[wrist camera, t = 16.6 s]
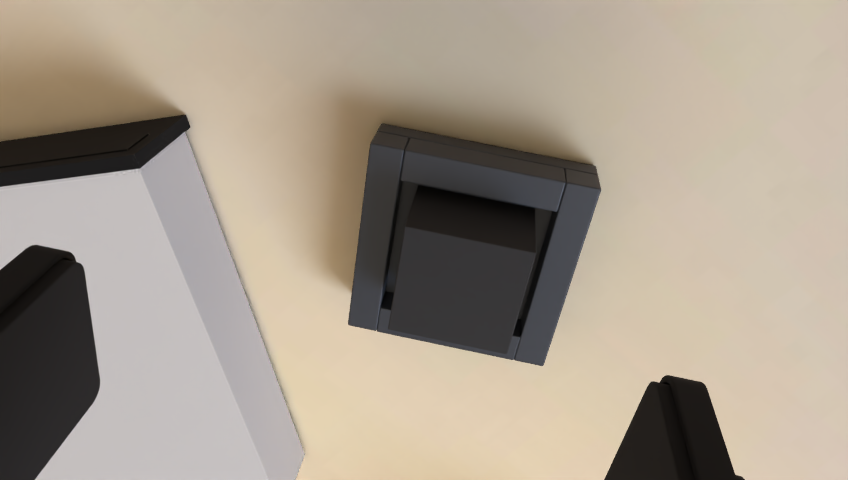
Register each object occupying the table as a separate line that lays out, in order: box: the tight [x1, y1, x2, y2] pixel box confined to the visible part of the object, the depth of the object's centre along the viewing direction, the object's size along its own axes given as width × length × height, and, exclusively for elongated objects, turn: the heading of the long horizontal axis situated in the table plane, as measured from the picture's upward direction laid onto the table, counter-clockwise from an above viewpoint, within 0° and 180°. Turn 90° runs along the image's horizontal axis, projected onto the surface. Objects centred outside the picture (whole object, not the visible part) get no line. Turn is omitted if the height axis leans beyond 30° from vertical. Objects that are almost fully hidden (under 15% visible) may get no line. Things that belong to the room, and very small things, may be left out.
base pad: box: [348, 124, 601, 366], centre depth 32 cm, size 10×10×2 cm
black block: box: [388, 186, 536, 354], centre depth 30 cm, size 6×6×4 cm
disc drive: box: [0, 115, 305, 480], centre depth 37 cm, size 18×22×5 cm
